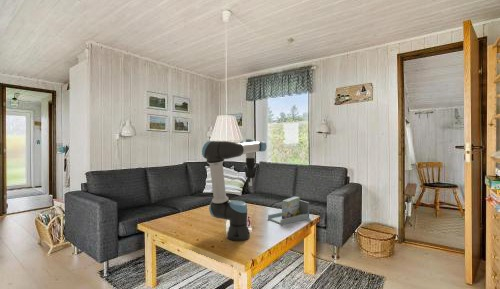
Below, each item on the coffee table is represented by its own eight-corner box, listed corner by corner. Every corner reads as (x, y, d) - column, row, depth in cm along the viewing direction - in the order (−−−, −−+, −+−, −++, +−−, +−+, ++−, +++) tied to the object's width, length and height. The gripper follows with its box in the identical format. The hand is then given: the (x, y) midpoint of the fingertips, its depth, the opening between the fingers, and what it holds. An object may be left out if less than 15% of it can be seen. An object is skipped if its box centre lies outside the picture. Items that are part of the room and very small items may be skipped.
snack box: (287, 220, 202) (287, 201, 201) (281, 219, 205) (281, 200, 205) (300, 214, 218) (300, 196, 218) (294, 213, 222) (294, 195, 222)
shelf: (281, 224, 195) (281, 207, 195) (267, 219, 209) (267, 203, 209) (309, 218, 212) (309, 202, 212) (294, 213, 226) (294, 198, 226)
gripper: (246, 158, 206) (246, 187, 206) (259, 157, 213) (259, 185, 214) (241, 157, 212) (241, 185, 213) (254, 157, 219) (254, 184, 220)
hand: (250, 185), depth 213 cm, fingers closed
